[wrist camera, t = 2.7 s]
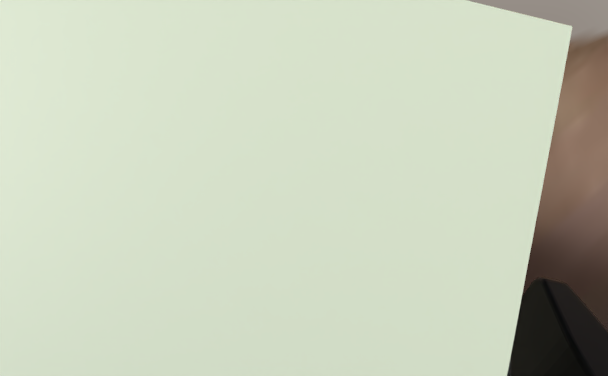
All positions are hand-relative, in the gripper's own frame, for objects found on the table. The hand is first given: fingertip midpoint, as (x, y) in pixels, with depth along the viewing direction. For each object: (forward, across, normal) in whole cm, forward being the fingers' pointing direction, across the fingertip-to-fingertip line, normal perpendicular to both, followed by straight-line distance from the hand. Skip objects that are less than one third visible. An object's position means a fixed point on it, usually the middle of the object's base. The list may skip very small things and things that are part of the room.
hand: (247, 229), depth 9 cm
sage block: (+5, 0, +6) cm, 8 cm away
